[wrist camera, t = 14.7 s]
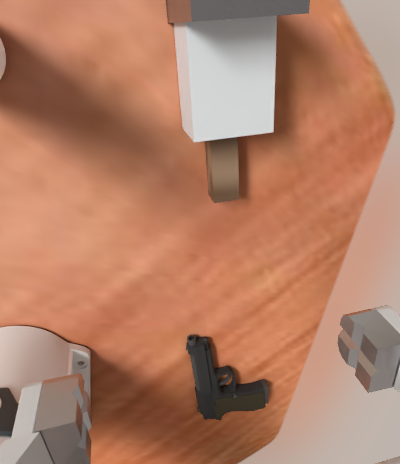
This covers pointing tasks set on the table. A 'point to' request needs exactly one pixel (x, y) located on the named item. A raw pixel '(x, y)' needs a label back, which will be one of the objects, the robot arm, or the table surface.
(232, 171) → the walnut bar
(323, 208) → the table surface
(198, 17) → the wall
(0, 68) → the water bottle
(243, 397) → the handgun
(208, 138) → the tunnel block
